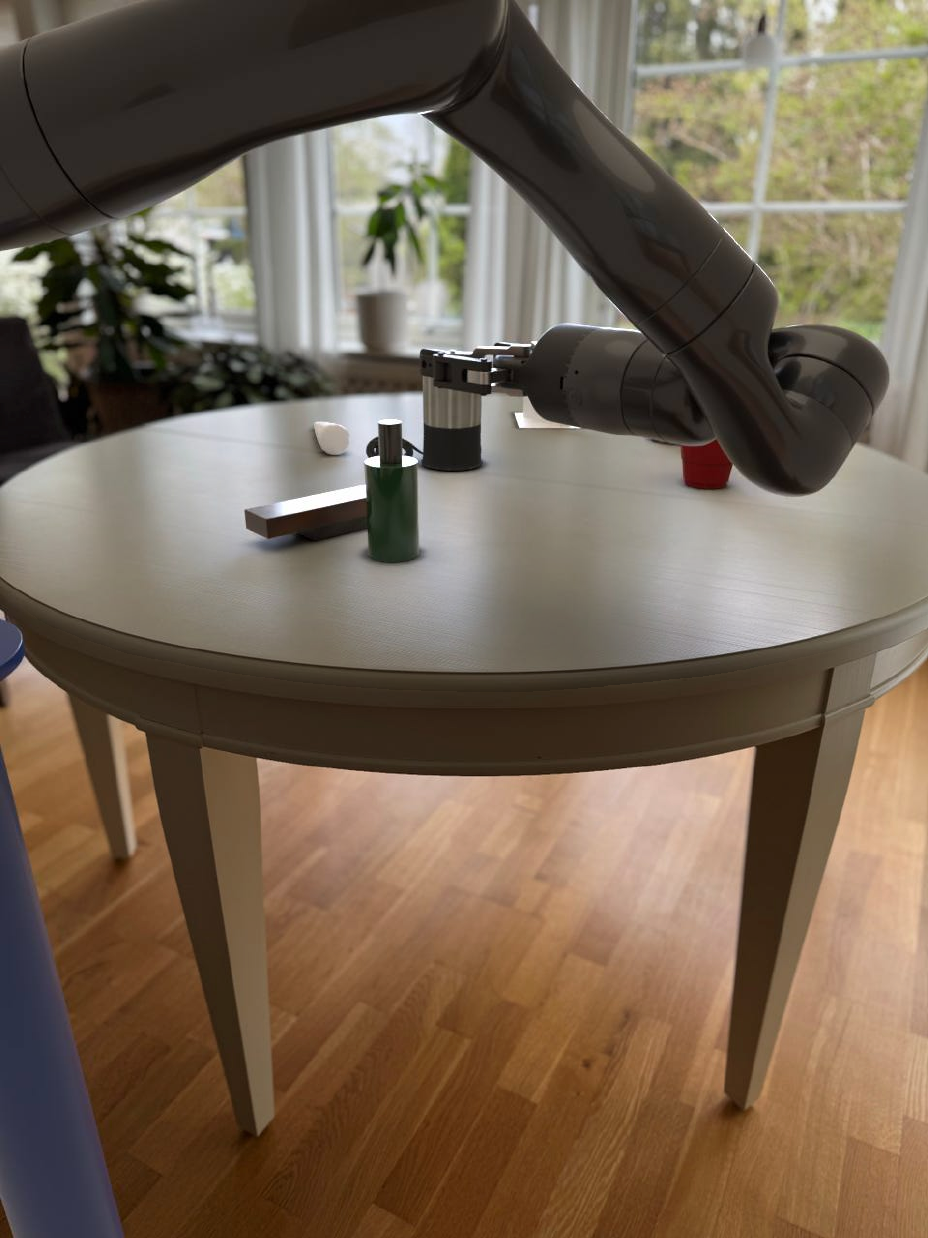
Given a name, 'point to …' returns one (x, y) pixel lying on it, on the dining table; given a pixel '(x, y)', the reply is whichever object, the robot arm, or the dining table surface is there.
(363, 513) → the brush
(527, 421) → the napkin holder
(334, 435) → the unicorn horn
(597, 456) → the dining table surface
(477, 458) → the milk frother
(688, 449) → the plastic cup
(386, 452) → the green bottle
